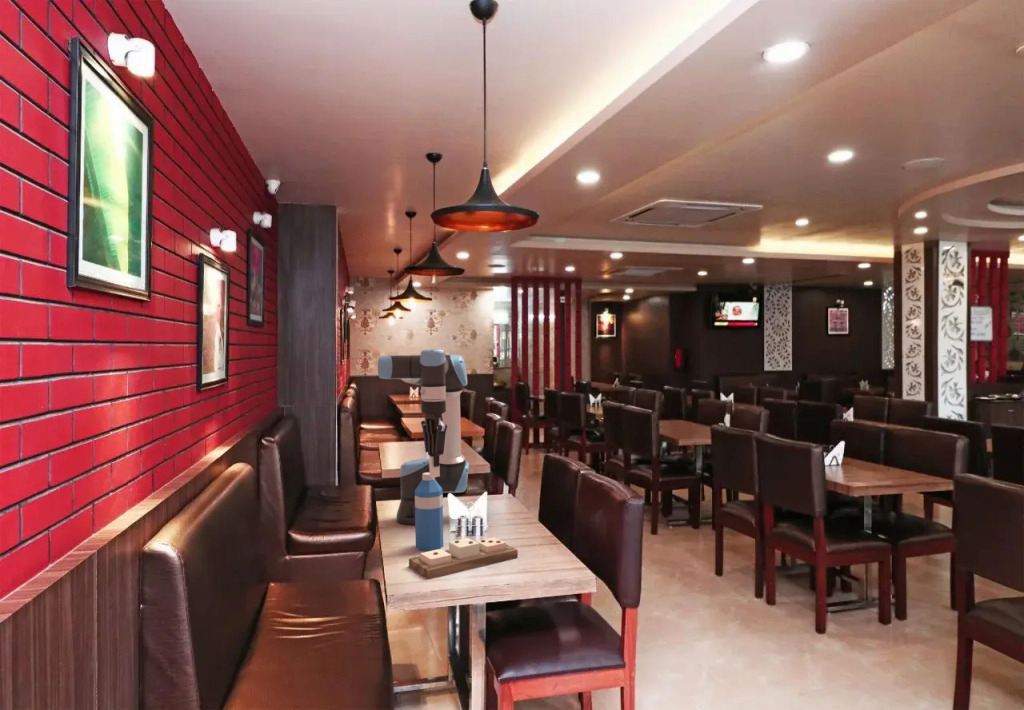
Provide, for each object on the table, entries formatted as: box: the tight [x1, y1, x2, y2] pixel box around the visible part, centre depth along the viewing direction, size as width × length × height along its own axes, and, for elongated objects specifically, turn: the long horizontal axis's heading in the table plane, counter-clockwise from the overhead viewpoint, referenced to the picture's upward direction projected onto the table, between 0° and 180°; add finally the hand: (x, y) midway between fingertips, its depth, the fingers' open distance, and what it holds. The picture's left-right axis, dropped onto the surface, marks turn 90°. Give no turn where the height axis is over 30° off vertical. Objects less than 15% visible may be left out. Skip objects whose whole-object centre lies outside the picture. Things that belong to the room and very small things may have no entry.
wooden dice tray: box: [408, 544, 519, 580], centre depth 207 cm, size 13×32×2 cm, turn 124°
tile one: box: [419, 548, 451, 567], centre depth 201 cm, size 7×7×4 cm
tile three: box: [475, 536, 507, 553], centre depth 212 cm, size 7×7×4 cm
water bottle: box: [414, 472, 444, 552], centre depth 222 cm, size 9×9×25 cm
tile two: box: [448, 537, 479, 560], centre depth 207 cm, size 7×7×4 cm
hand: (434, 476), depth 201 cm, fingers closed
